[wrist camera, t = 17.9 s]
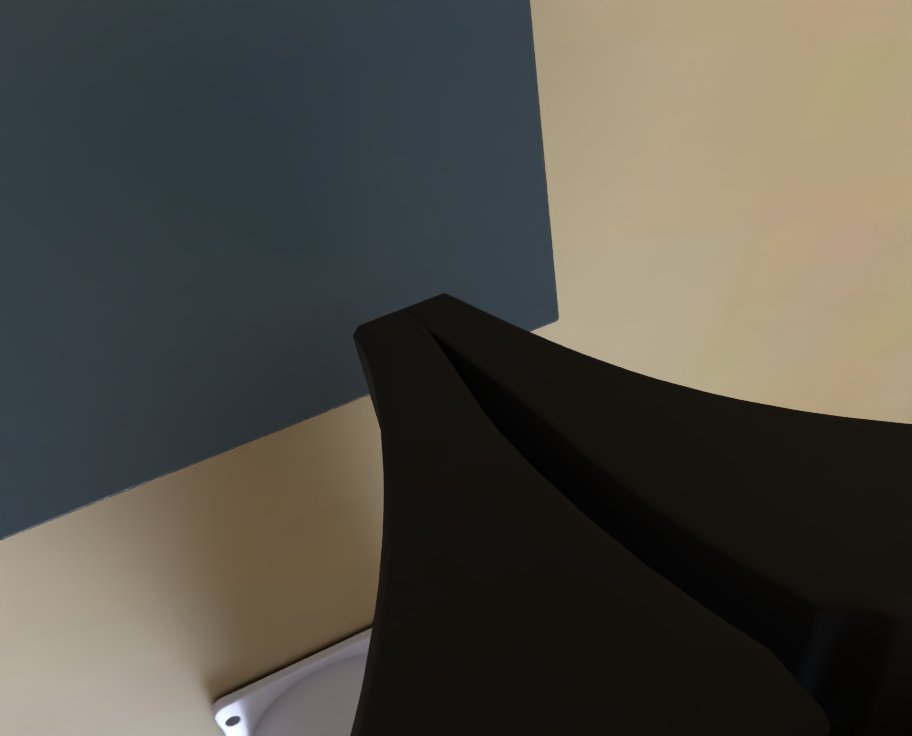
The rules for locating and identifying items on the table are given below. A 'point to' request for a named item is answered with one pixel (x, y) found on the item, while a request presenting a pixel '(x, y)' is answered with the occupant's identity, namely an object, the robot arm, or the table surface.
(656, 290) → the table surface
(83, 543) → the table surface
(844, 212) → the table surface
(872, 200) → the table surface
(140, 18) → the bin lid
